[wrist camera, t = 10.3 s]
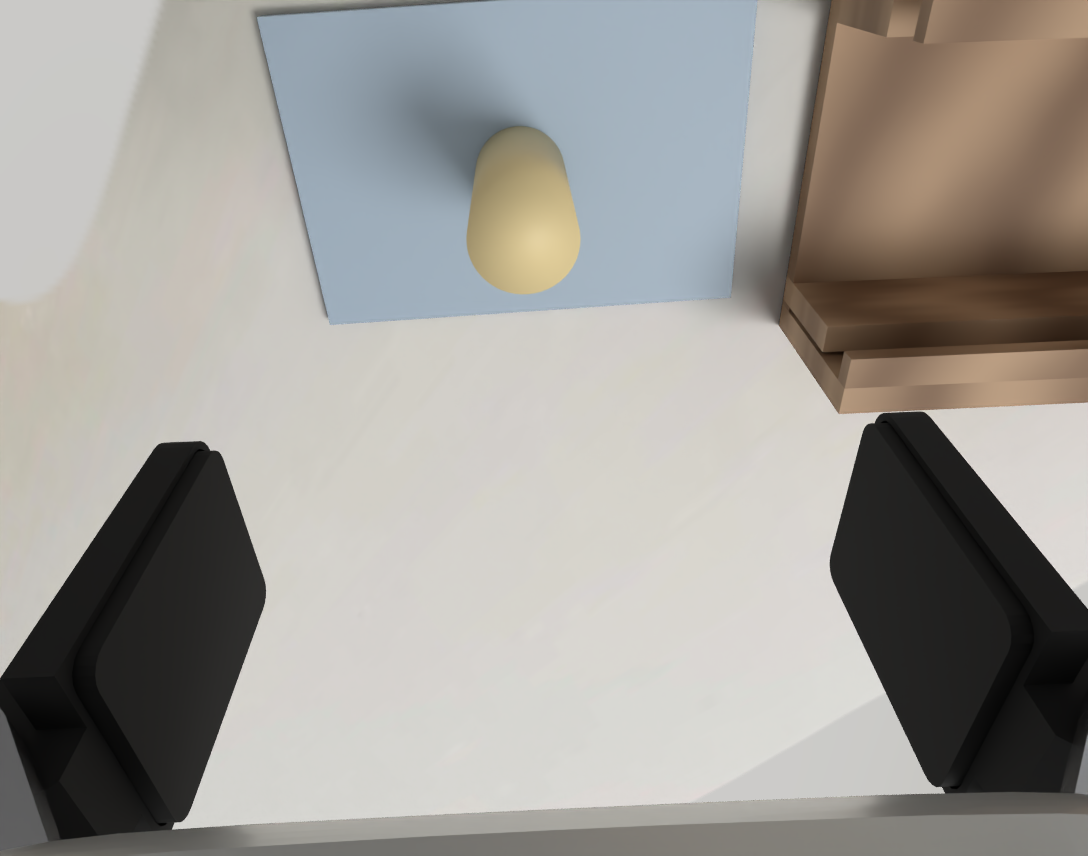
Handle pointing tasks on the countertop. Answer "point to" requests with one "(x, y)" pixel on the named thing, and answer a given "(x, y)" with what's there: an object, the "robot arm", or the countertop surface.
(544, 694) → the countertop surface
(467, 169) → the lid
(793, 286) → the brown wooden open box
